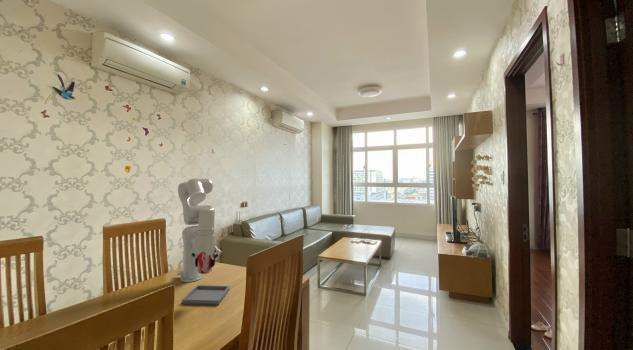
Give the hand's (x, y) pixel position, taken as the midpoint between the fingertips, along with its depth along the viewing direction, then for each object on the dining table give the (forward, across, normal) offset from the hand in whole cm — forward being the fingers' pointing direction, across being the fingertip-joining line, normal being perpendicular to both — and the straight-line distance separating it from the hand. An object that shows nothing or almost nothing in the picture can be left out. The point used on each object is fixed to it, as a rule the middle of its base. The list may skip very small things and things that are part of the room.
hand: (205, 265), depth 129 cm
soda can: (+3, 0, 0) cm, 3 cm away
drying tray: (+17, +1, +2) cm, 17 cm away
